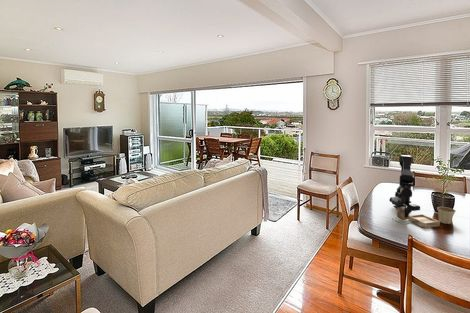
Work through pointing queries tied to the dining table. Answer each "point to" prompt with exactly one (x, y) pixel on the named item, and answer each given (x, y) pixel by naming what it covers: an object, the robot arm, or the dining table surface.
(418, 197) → the dining table surface
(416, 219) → the oak box
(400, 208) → the walnut block
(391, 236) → the dining table surface
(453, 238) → the dining table surface
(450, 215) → the flower pot
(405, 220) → the pad
